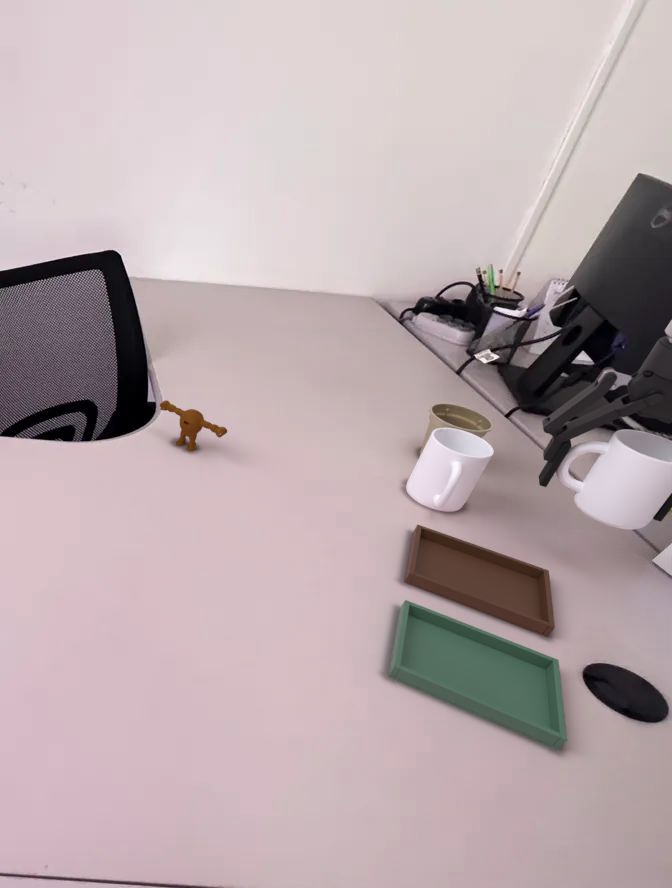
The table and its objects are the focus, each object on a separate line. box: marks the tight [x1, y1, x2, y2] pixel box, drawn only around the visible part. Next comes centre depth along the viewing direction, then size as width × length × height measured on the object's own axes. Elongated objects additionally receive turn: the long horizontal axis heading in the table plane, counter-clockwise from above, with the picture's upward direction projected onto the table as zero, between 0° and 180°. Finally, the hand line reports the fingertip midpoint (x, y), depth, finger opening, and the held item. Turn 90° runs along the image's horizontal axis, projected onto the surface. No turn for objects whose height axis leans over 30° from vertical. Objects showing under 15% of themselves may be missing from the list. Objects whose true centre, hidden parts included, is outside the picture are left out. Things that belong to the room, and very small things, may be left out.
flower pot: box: [419, 402, 495, 457], centre depth 112 cm, size 9×9×9 cm
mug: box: [555, 428, 672, 531], centre depth 87 cm, size 12×8×10 cm
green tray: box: [387, 599, 568, 751], centre depth 75 cm, size 16×12×2 cm
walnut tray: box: [403, 524, 556, 638], centre depth 88 cm, size 16×12×2 cm
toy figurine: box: [159, 400, 228, 452], centre depth 108 cm, size 12×4×7 cm, turn 47°
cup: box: [405, 428, 495, 513], centre depth 100 cm, size 8×12×10 cm
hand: (597, 498), depth 89 cm, fingers closed on mug, 12 cm apart
